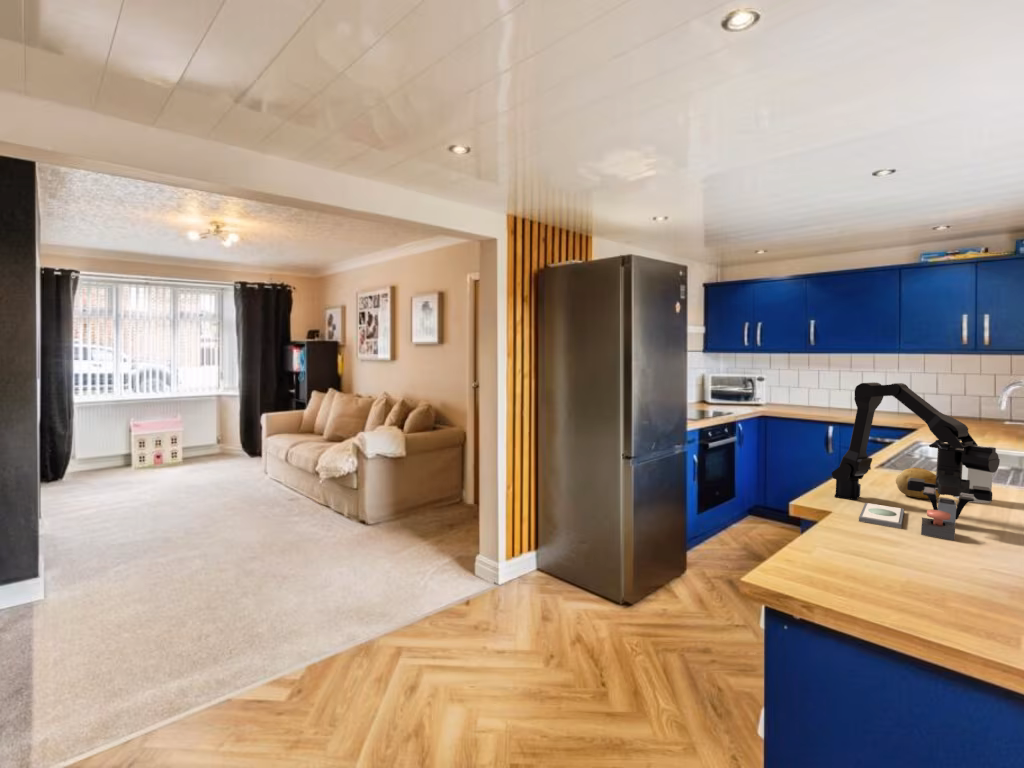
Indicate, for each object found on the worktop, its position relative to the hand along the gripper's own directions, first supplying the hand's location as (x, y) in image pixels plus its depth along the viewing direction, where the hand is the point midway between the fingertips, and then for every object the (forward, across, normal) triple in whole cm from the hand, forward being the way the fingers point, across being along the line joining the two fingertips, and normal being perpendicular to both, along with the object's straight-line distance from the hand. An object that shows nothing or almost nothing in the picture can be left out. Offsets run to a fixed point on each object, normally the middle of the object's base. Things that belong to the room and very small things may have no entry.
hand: (946, 517), depth 152 cm
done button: (-1, -2, -13) cm, 13 cm away
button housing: (+2, -2, -13) cm, 13 cm away
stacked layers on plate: (+2, -4, +48) cm, 48 cm away
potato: (+2, -7, +28) cm, 29 cm away
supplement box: (+2, +7, +35) cm, 36 cm away
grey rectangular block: (+2, 0, 0) cm, 2 cm away
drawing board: (+2, -15, -5) cm, 16 cm away
